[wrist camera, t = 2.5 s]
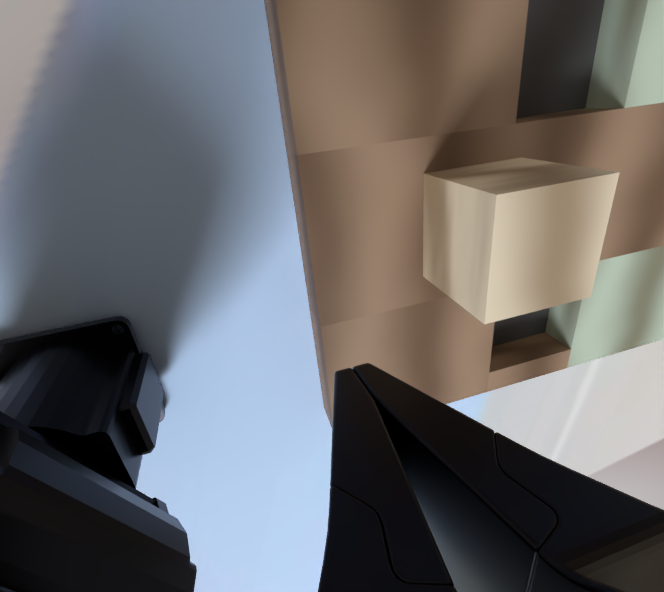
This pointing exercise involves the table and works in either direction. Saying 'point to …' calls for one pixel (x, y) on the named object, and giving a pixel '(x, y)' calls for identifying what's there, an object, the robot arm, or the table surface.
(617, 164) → the trap deck
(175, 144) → the table surface
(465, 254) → the block
